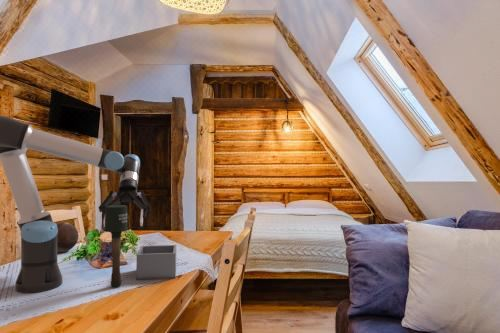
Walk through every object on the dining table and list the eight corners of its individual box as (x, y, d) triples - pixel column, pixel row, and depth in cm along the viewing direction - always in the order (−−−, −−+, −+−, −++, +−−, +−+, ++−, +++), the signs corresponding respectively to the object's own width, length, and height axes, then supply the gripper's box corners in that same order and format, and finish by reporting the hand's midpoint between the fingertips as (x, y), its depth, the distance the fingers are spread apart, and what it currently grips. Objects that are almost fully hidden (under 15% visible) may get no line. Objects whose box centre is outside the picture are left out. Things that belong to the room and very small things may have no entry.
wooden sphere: (83, 248, 192) (83, 220, 192) (68, 255, 177) (69, 225, 177) (56, 248, 193) (56, 220, 193) (39, 255, 178) (39, 225, 178)
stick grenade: (120, 291, 129) (120, 207, 128) (98, 289, 130) (99, 206, 130) (132, 283, 137) (132, 205, 137) (112, 281, 139) (112, 204, 139)
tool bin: (136, 280, 141) (136, 254, 141) (141, 269, 156) (141, 246, 156) (175, 278, 144) (175, 253, 144) (176, 267, 159) (176, 244, 159)
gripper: (158, 189, 161) (156, 229, 146) (99, 189, 156) (91, 231, 142) (157, 178, 155) (155, 218, 141) (96, 178, 151) (87, 219, 136)
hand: (123, 224), depth 141 cm, fingers open, 13 cm apart
